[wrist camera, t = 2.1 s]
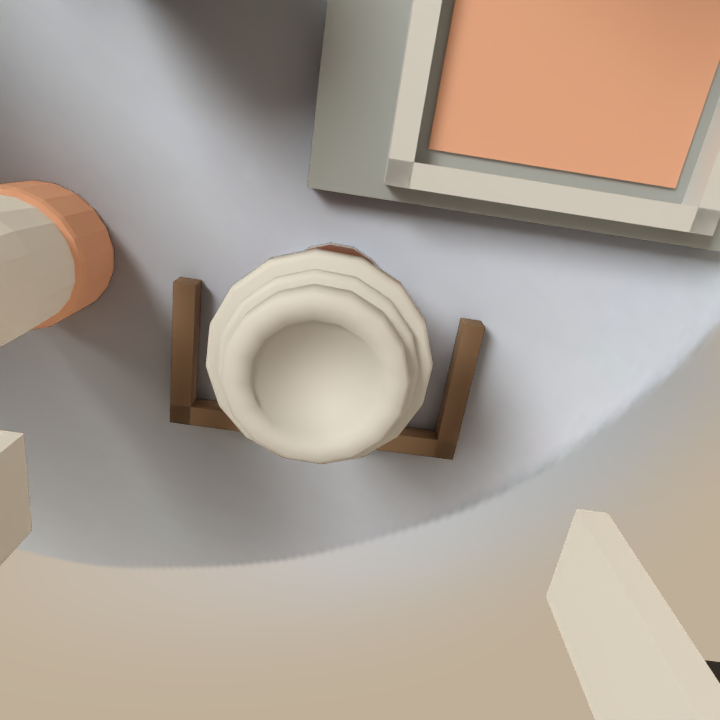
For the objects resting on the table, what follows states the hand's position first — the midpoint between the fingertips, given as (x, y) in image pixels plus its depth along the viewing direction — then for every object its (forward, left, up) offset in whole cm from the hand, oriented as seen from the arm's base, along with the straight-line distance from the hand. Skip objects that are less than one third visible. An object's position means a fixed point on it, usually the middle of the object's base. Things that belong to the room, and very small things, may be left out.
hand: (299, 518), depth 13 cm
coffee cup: (0, 0, -20) cm, 20 cm away
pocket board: (+9, +15, -20) cm, 26 cm away
